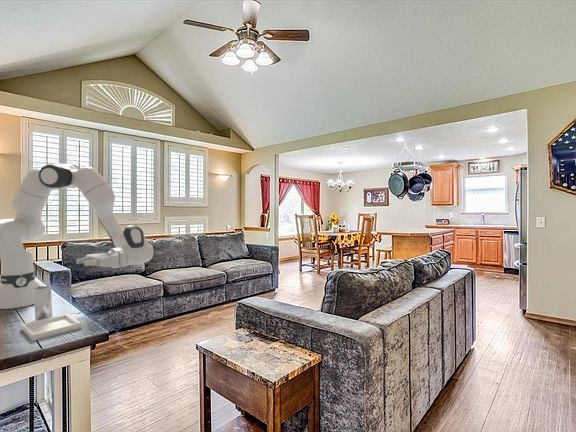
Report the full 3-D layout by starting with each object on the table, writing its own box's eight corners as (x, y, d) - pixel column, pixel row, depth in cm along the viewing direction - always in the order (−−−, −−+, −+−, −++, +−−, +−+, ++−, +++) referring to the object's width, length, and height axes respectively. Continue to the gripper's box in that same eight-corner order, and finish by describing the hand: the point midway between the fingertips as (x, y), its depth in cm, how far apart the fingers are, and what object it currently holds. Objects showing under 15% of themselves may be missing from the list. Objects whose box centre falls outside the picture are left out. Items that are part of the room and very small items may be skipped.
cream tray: (21, 329, 116) (21, 324, 116) (67, 318, 127) (67, 313, 126) (32, 341, 106) (32, 335, 105) (81, 328, 116) (81, 322, 116)
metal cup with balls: (33, 321, 124) (32, 285, 124) (50, 318, 128) (48, 283, 127) (37, 324, 121) (35, 287, 120) (54, 320, 125) (52, 285, 124)
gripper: (106, 249, 150) (72, 253, 140) (125, 252, 137) (88, 256, 126) (107, 262, 151) (73, 267, 140) (126, 267, 137) (89, 273, 127)
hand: (80, 262), depth 133 cm, fingers open, 8 cm apart
